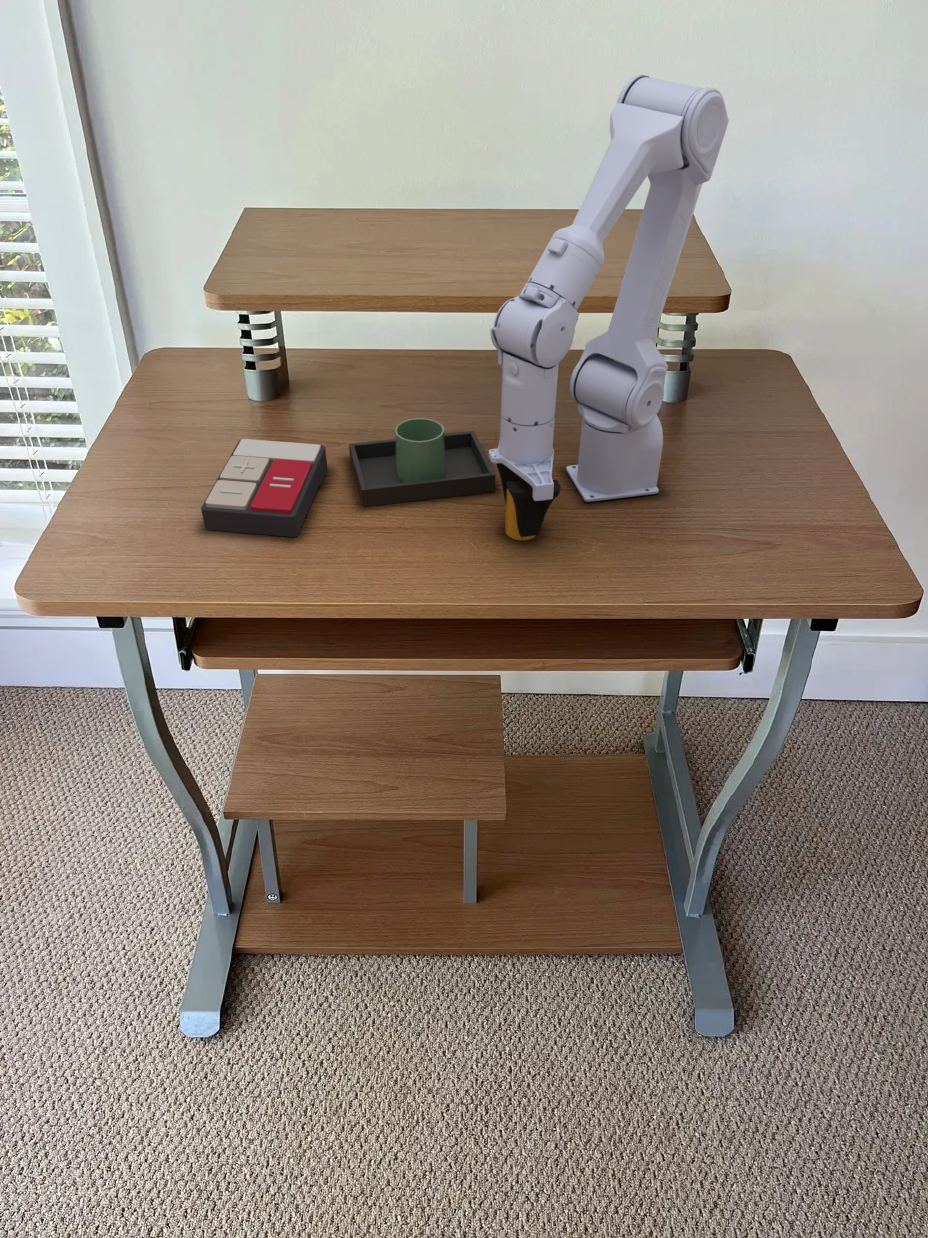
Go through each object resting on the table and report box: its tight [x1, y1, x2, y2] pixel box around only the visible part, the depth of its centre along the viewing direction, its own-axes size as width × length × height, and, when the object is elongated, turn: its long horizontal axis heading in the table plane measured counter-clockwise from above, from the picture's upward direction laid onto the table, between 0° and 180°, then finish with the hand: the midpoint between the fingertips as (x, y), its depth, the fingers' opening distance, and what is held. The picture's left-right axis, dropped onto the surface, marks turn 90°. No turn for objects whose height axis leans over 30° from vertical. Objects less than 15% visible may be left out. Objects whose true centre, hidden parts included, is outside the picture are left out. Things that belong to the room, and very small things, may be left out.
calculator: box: [200, 438, 329, 538], centre depth 117 cm, size 11×4×15 cm
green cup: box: [394, 417, 446, 482], centre depth 121 cm, size 6×6×6 cm
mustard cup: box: [504, 489, 537, 541], centre depth 112 cm, size 4×4×6 cm
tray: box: [348, 430, 496, 508], centre depth 122 cm, size 16×11×2 cm
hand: (522, 521), depth 113 cm, fingers open, 5 cm apart
